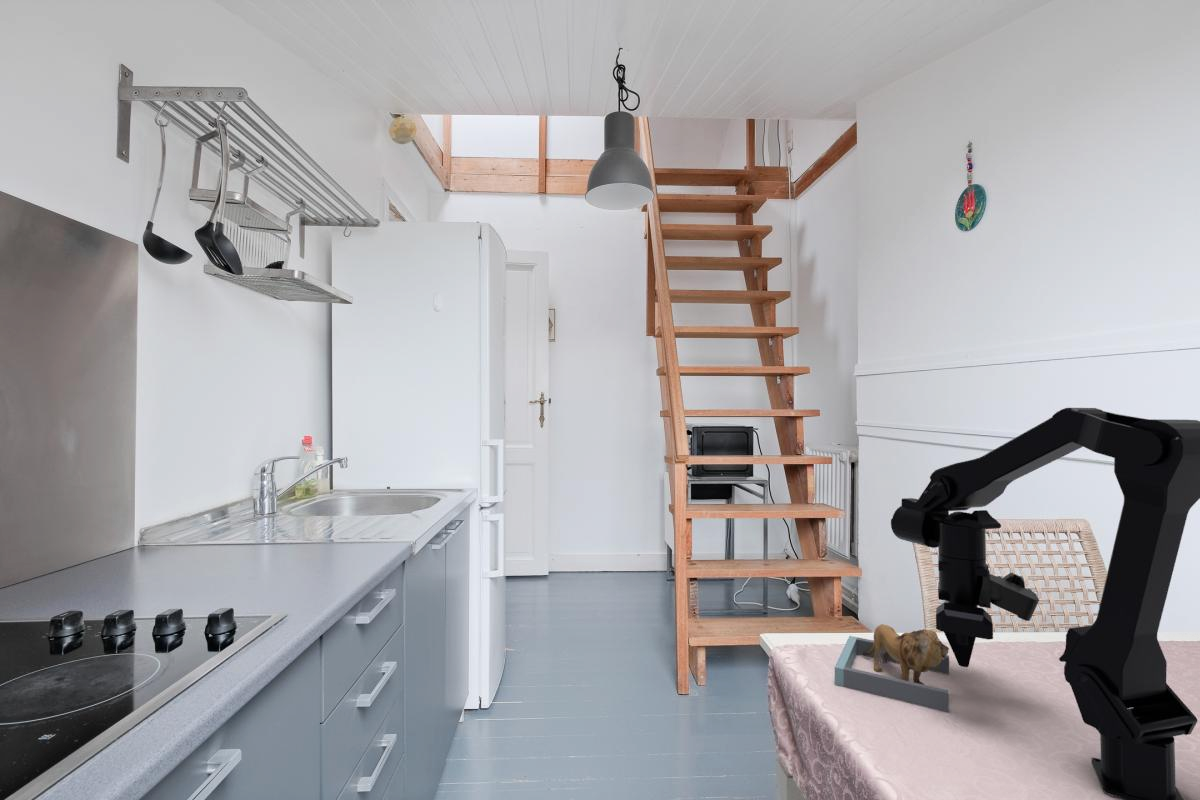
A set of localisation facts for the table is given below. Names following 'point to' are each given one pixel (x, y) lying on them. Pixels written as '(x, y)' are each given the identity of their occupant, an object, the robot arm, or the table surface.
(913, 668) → the lion figurine
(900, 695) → the chassis bay
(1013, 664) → the table surface
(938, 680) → the table surface
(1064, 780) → the table surface
